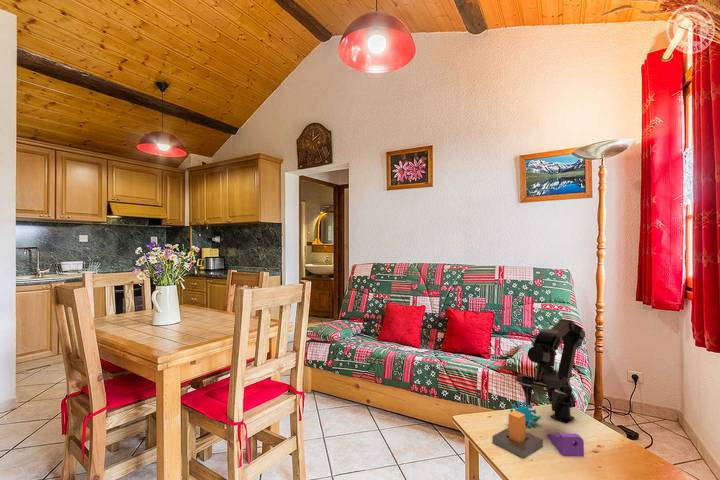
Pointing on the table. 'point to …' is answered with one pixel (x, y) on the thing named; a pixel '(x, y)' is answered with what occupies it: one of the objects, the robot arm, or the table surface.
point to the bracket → (568, 444)
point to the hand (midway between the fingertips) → (540, 408)
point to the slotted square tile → (516, 448)
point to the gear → (526, 413)
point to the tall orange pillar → (517, 427)
